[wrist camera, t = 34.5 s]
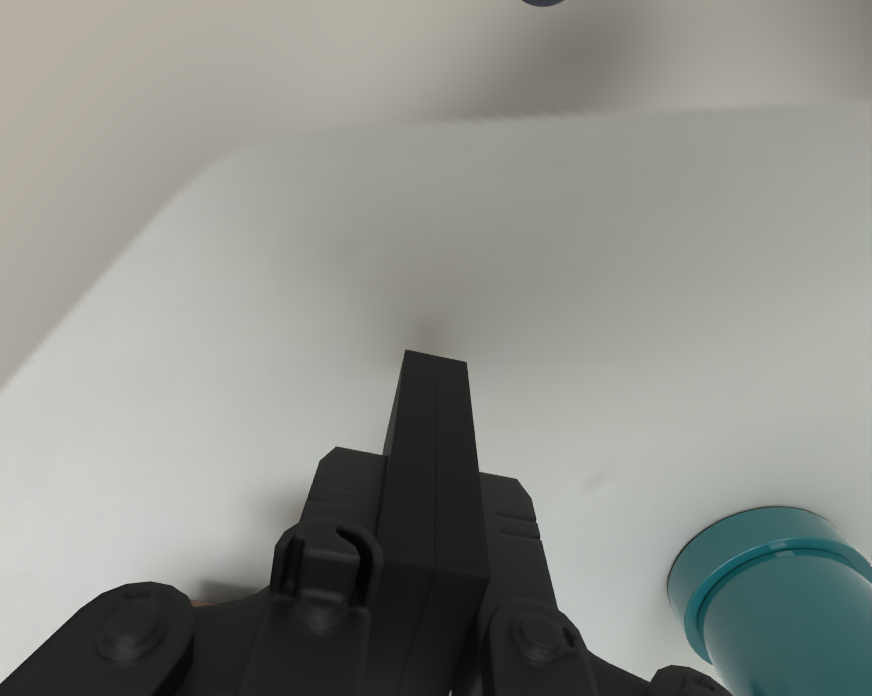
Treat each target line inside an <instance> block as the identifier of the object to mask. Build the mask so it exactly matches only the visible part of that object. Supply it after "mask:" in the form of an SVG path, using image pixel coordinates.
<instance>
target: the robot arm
mask: <svg viewBox="0 0 872 696" xmlns="http://www.w3.org/2000/svg"><path fill="white" fill-rule="evenodd" d="M450 691H451V696H733V695H732V694H731V693H730V692H729V691H728V690H727V689H725V688H724V687H723V686H721V685H720V684H719V683H717V682H716V681H715V680H714V679H712V678H711V677H710V676H708V675H705V674H703V673H701V672H699V671H697V670H694V669H692V668H690V667H684V666H676V665H670V666H667V667H665V668H662V669H659V670H657V672H656V674H655V675H654V677H653V679H652V680H651V682H648V681H646V680H644V679H642V678H640V677H637V676H635V675H633V674H631V673H629V672H627V671H625V670H623V669H620V668H618V667H616V666H614V665H612V664H610V663H608V662H606V661H604V660H603V659H601V658H599V657H597V656H596V655H594V654H593V653H591V652H590V651H589V650H588V649H587V647H586V645H585V643H584V641H583V639H582V637H581V634H580V632H579V630H578V629H577V628H576V627H575V625H574V624H573V623H572V622H571V621H570V620H569V619H568V618H567V616H566V615H565V614H563V613H562V612H560V611H559V610H558V607H557V603H556V599H555V595H554V591H553V587H552V582H551V578H550V574H549V570H548V566H547V562H546V557H545V553H544V549H543V545H542V541H541V540H540V532H539V528H538V524H537V523H536V516H535V512H534V508H533V503H532V499H531V497H530V496H529V495H528V493H527V492H526V491H525V489H524V488H523V487H522V485H521V484H520V483H519V481H518V480H517V479H514V478H509V477H504V476H498V475H493V474H488V473H483V472H479V467H478V459H477V450H476V441H475V432H474V423H473V414H472V406H471V397H470V388H469V379H468V370H467V362H463V361H458V360H454V359H449V358H444V357H439V356H434V355H429V354H425V353H420V352H415V351H410V350H405V353H404V358H403V362H402V367H401V371H400V376H399V380H398V385H397V389H396V394H395V398H394V403H393V407H392V412H391V416H390V421H389V425H388V430H387V434H386V439H385V443H384V449H383V455H378V454H373V453H368V452H362V451H357V450H352V449H347V448H341V447H335V448H334V449H333V450H332V451H331V452H329V453H328V454H327V455H326V456H325V457H324V458H322V459H321V460H320V462H319V465H318V468H317V471H316V474H315V477H314V479H313V484H312V485H311V488H310V491H309V494H308V498H307V500H306V503H305V506H304V509H303V512H302V515H301V518H300V521H299V523H297V524H296V525H294V526H293V527H291V528H289V529H288V530H286V531H285V532H284V533H283V535H282V536H281V538H280V539H279V541H278V542H277V544H276V545H275V551H274V558H273V565H272V572H271V580H270V585H269V586H267V587H266V588H264V589H263V590H261V591H260V592H258V593H257V594H254V595H252V596H250V597H247V598H245V599H242V600H238V601H233V602H229V603H223V604H214V605H206V606H198V607H193V606H192V604H191V602H190V600H189V598H188V596H187V595H185V594H184V593H182V592H181V591H179V590H178V589H176V588H175V587H173V586H171V585H166V584H161V583H156V582H151V581H150V582H140V583H131V584H125V585H122V586H120V587H117V588H115V589H112V590H109V591H107V592H104V593H102V594H100V595H99V596H97V597H96V598H95V599H93V600H92V601H90V602H89V603H88V604H86V605H85V606H83V607H82V608H80V609H79V610H78V611H77V612H76V613H75V614H74V615H73V616H72V617H71V618H70V619H69V620H68V621H67V622H66V623H65V624H63V625H62V626H61V627H60V628H59V629H58V630H57V631H56V632H55V633H54V634H53V635H52V636H51V637H50V638H49V639H48V640H46V641H45V642H44V643H43V644H42V645H41V646H40V647H39V648H38V649H37V650H36V651H35V652H34V653H33V654H32V655H30V656H29V657H28V658H27V659H26V660H25V661H24V662H23V663H22V664H21V665H20V666H19V667H18V668H17V669H16V670H15V671H13V672H12V673H11V674H10V675H9V676H8V677H7V678H6V679H5V680H4V681H3V682H2V683H1V684H0V696H449V694H450Z"/></svg>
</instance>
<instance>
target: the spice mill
mask: <svg viewBox="0 0 872 696" xmlns="http://www.w3.org/2000/svg"><path fill="white" fill-rule="evenodd" d="M668 598H669V602H670V605H671V608H672V610H673V612H674V614H675V616H676V618H677V620H678V622H679V624H680V626H681V628H682V630H683V632H684V634H685V636H686V638H687V640H688V642H689V644H690V646H691V647H692V649H693V650H694V651H695V652H696V653H697V654H698V655H699V656H700V657H701V658H702V659H703V660H705V661H706V662H708V663H709V664H711V665H713V666H714V668H715V669H716V671H717V673H718V675H719V677H720V679H721V681H722V683H723V685H724V687H725V689H727V690H728V691H729V692H730V693H731V694H732V695H733V696H872V567H871V565H870V563H869V562H868V561H867V560H866V559H865V557H864V556H863V555H862V554H861V553H860V552H859V551H858V550H857V549H856V548H855V547H854V546H853V545H852V544H851V543H850V542H849V541H848V540H847V539H846V538H845V537H844V536H843V535H842V534H841V533H840V532H839V531H838V530H837V529H836V528H835V527H834V526H833V525H832V524H831V523H829V522H828V521H827V520H825V519H823V518H822V517H820V516H818V515H815V514H813V513H810V512H808V511H804V510H800V509H794V508H787V507H771V508H761V509H755V510H750V511H746V512H743V513H739V514H736V515H734V516H731V517H729V518H726V519H724V520H722V521H720V522H718V523H716V524H714V525H713V526H711V527H709V528H708V529H706V530H705V531H703V532H702V533H701V534H699V535H698V536H697V537H696V538H694V539H693V540H692V541H691V542H690V543H689V544H688V545H687V546H686V548H685V549H684V550H683V551H682V553H681V554H680V555H679V557H678V558H677V560H676V562H675V563H674V566H673V568H672V570H671V573H670V577H669V581H668Z"/></svg>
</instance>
